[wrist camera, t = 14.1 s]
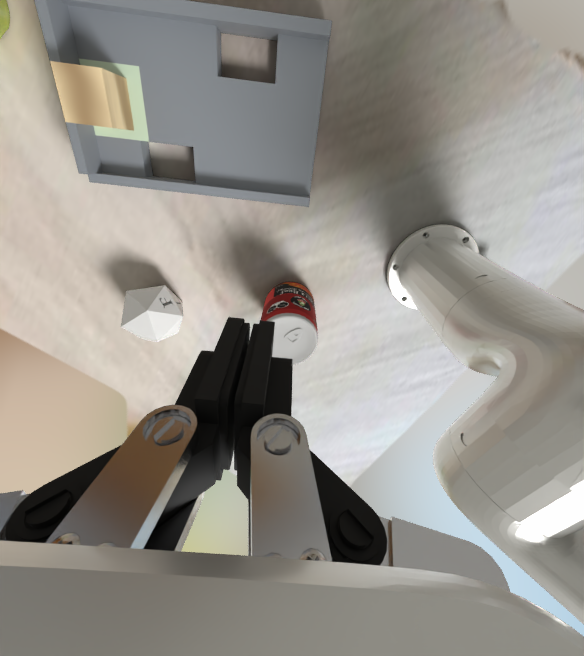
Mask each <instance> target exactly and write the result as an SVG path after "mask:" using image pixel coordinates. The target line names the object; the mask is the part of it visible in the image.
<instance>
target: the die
mask: <svg viewBox="0 0 584 656" xmlns="http://www.w3.org/2000/svg"><path fill="white" fill-rule="evenodd" d="M182 318H183V307H182V301H181V300H180V299H179V298H178V297H177V296H176V295H175V294H174V293H173V292H171V291H170V290H169V289H168V288H167V287H166V286H165V285H163V286H156V287H149V288H142V289H135V290H128V291H126V294H125V302H124V309H123V316H122V323H121V327H122V328H123V329H125V330H127V331H129V332H131V333H132V334H134V335H136V336H138V337H140V338H141V339H143V340H148V341H154V342H158V341H161V340H163V339H165V338H168V337H170V336H172V335H175V334H177V333H178V332H179V328H180V325H181V322H182Z"/></svg>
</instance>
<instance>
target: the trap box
mask: <svg viewBox="0 0 584 656" xmlns="http://www.w3.org/2000/svg"><path fill="white" fill-rule="evenodd" d="M34 1H35V5H36V9H37V13H38V16H39V20H40V24H41V28H42V32H43V36H44V40H45V44H46V48H47V51H48V55H49V59H50V61H54V62H62V63H69V64H77V65H84V66H92V67H99V68H103V69H105V70H107V71H110V72H112V73H115V74H117V75H119V76H122V77H124V78H126V79H127V86H128V92H129V99H130V105H131V112H132V118H133V125H134V131H133V130H125V129H117V128H109V127H101V126H93V125H85V124H77V123H69V122H66V125H67V129H68V133H69V137H70V141H71V145H72V149H73V152H74V156H75V160H76V164H77V168H78V172H79V173H81V174H88V177H89V181H90V182H93V183H102V184H111V185H120V186H129V187H138V188H146V189H155V190H164V191H173V192H182V193H190V194H199V195H208V196H217V197H226V198H235V199H243V200H252V201H261V202H270V203H279V204H288V205H296V206H305V207H309V203H310V189H311V181H312V173H313V165H314V157H315V149H316V141H317V133H318V125H319V117H320V108H321V100H322V92H323V84H324V76H325V68H326V60H327V52H328V44H329V39H330V34H331V26H332V21H331V20H324V19H317V18H310V17H302V16H295V15H288V14H281V13H274V12H267V11H259V10H252V9H245V8H238V7H231V6H224V5H216V4H209V3H202V2H195V1H188V0H34ZM221 33H225V34H232V35H240V36H247V37H254V38H262V39H269V40H277V41H278V44H277V62H276V80H275V84H272V83H264V82H256V81H249V80H241V79H233V78H226V77H222V64H221ZM148 142H156V143H164V144H173V145H181V146H189V147H193V151H194V165H195V180H196V181H190V180H181V179H172V178H164V177H155V176H153V173H152V166H151V159H150V151H149V144H148Z"/></svg>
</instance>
